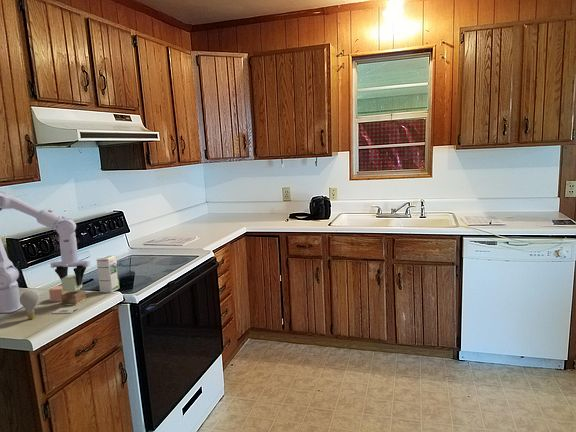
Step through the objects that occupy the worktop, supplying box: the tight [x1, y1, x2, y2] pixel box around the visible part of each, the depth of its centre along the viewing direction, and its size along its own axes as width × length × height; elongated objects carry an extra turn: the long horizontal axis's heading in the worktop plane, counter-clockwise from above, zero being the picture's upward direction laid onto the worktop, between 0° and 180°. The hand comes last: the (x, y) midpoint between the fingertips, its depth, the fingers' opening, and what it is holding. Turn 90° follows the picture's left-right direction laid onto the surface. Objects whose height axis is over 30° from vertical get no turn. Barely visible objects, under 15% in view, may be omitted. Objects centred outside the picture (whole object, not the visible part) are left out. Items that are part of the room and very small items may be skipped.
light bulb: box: [19, 290, 39, 320], centre depth 145 cm, size 6×6×10 cm
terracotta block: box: [48, 285, 69, 302], centre depth 167 cm, size 5×5×5 cm
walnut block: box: [61, 290, 87, 305], centre depth 163 cm, size 6×6×4 cm
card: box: [51, 307, 75, 315], centre depth 153 cm, size 7×5×1 cm
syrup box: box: [96, 255, 120, 293], centre depth 176 cm, size 6×6×14 cm
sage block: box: [60, 274, 83, 291], centre depth 162 cm, size 5×5×5 cm
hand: (72, 285), depth 162 cm, fingers closed on sage block, 5 cm apart
